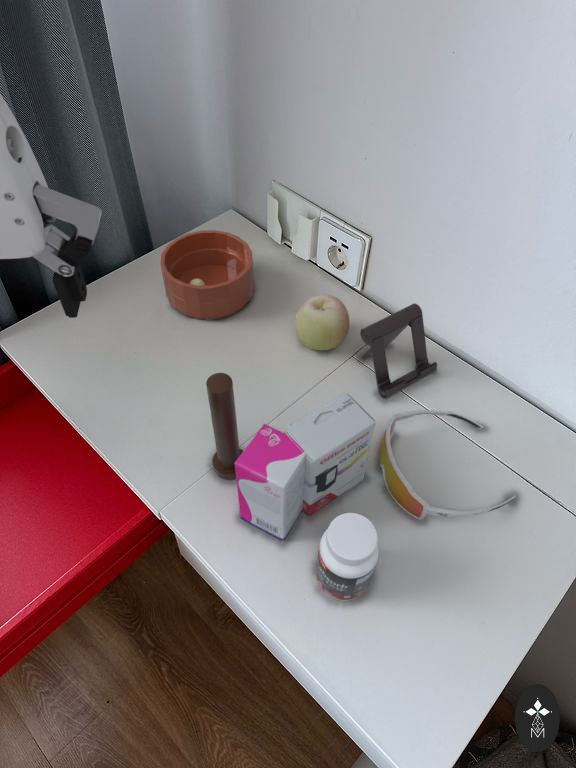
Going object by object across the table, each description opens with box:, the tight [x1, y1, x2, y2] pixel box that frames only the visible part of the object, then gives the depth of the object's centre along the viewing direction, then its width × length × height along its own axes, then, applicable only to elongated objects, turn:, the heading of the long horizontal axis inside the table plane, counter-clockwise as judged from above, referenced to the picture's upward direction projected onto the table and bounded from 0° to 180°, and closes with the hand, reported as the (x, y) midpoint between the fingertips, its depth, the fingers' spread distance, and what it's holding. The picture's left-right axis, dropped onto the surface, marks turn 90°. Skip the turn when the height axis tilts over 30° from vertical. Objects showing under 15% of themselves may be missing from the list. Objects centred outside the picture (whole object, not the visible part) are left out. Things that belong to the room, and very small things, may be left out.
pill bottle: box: [315, 512, 380, 602], centre depth 56 cm, size 6×6×10 cm
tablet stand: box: [359, 302, 438, 400], centre depth 75 cm, size 9×8×8 cm
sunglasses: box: [379, 409, 516, 521], centre depth 67 cm, size 14×15×5 cm
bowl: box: [159, 229, 255, 321], centre depth 85 cm, size 13×13×6 cm
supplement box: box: [235, 423, 306, 542], centre depth 60 cm, size 6×6×12 cm
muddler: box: [205, 372, 244, 481], centre depth 63 cm, size 4×4×16 cm
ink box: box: [284, 393, 377, 517], centre depth 63 cm, size 9×5×12 cm, turn 126°
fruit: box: [294, 294, 350, 351], centre depth 79 cm, size 8×7×8 cm
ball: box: [190, 278, 205, 286], centre depth 86 cm, size 2×2×2 cm
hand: (12, 307), depth 45 cm, fingers open, 9 cm apart
